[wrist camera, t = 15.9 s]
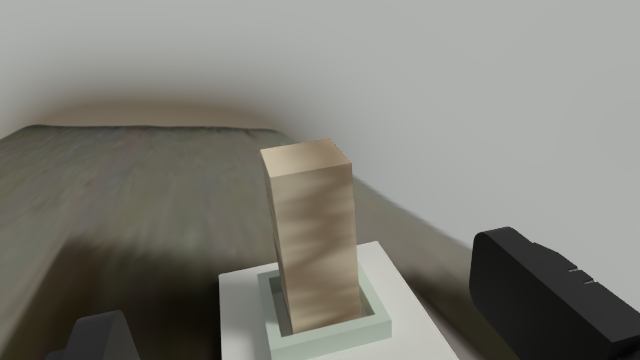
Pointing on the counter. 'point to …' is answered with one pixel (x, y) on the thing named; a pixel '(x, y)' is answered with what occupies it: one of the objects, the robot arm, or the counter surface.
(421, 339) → the base plate
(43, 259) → the counter surface
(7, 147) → the counter surface
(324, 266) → the beige square block
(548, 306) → the robot arm
